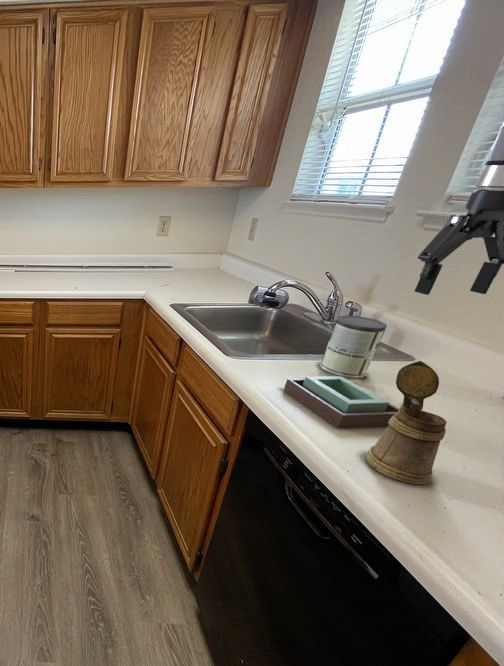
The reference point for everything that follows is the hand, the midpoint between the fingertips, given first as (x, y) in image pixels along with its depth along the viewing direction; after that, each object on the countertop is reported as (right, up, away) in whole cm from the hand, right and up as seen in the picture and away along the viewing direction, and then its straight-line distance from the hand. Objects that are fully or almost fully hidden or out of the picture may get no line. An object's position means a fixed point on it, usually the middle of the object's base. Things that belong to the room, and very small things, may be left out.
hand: (449, 292), depth 93 cm
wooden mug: (-27, -35, -15) cm, 47 cm away
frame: (-23, -25, +3) cm, 34 cm away
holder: (-23, -26, +3) cm, 34 cm away
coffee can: (-7, -17, +21) cm, 28 cm away
